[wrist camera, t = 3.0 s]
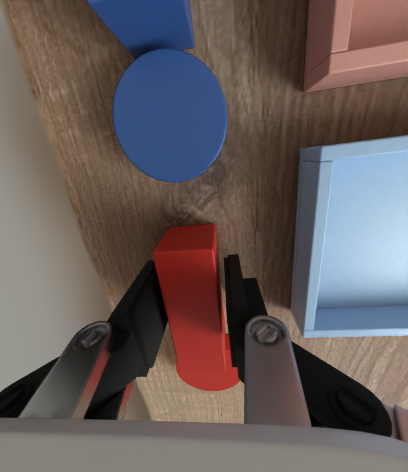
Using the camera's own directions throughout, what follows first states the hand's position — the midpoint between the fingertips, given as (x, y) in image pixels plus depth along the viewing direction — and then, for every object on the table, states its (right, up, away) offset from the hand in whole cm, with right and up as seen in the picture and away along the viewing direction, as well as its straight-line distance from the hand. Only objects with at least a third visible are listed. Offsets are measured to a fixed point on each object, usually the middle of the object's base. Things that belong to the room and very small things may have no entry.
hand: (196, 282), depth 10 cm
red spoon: (0, -2, +2) cm, 3 cm away
